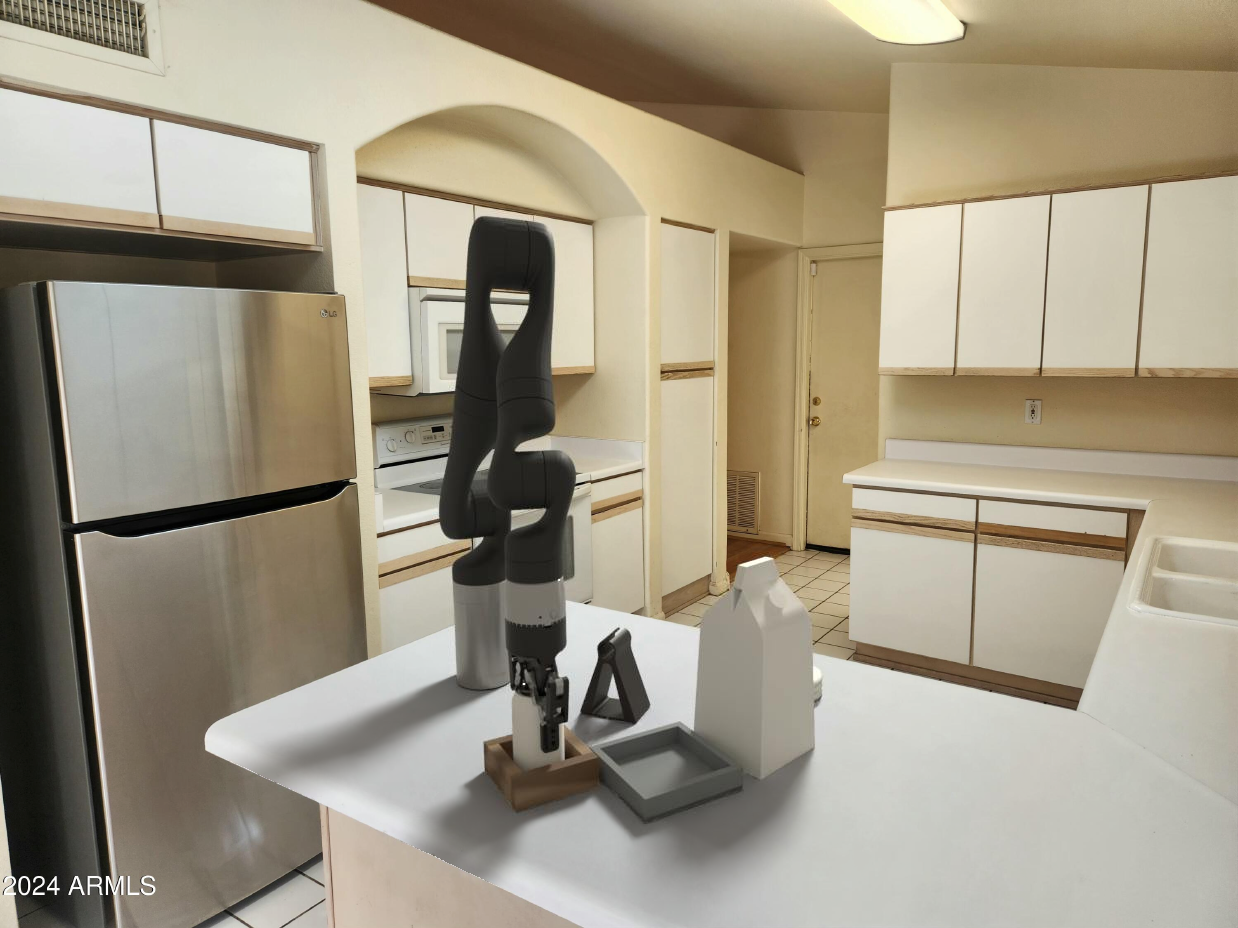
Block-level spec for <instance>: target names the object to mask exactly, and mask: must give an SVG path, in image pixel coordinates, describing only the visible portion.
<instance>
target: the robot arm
mask: <svg viewBox="0 0 1238 928" xmlns="http://www.w3.org/2000/svg"><path fill="white" fill-rule="evenodd" d="M553 237H554V236H553V233H552V231H551V229H550V228H549V226H547V224H544V223H541V222H538V221H532V220H524V219H516V218H507V217H500V216H491V215H490V216H489V215H488V216H487V215H481V216H478V217H476V219H475V220H474V222H473V223H472V225H471V228H470V232H469V237H468V243H467V244H468V245H467V255H466V256H467V257H466V273H465V290H464V291H465V292H464V293H465V297H464V317H463V328H462V337H461V343H460V344H461V345H460V350H459V358H458V364H457V373H456V379H455V386H454V387H455V388H454V395H453V410H452V419H451V421H452V422H451V423H452V424H451V433H450V441H449V442H450V443H449V449H448V454H447V455H448V456H447V458H446V459H447V460H446V465H445V470H444V475H443V477H442V478H443V480H442V485H441V490H440V494H439V500H438V501H439V502H438V504H439V505H438V517H439V520H438V521H439V526H440V529H441V531H442V533H443V535H444V536H445V537H446V538H448V539H449V540H454V541H459V540H460V541H461V540H470V539H477V538H478V539H479V538H482V540H481V542H480V543H479V544H478V545H477V546H476V547H474V548H473V549H472V550H470V551H469V552H467V553H465V554H463V555H462V556H460V557H458V558H456V559H455V561H454V562H453V564H452V566H451V578H452V598H453V617H454V618H453V619H454V641H455V642H454V643H455V663H456V664H455V665H456V668H455V669H456V682H457V684H458V685H459V686H461V687H463V688H465V689H470V690H490V689H495V688H499V687H500V688H501V687H502V686H505V685H507V684H509V687H510V690H511V691H512V692H515V686H516V685H517V684H518V686H519V687H520V686H523V685H524V684H525V686H526V687H527V688H528V689H530V694H531V697H532V698H531V699H532V703H533V705H534V706H535V707H537V708H538V713H539V718H540V743H541V750H542V751H543V752H544V753H549V752H553V751H556V750H558V749H559V724H562V723H564V724H566V723H568V722H569V708H570V707H569V706H570V702H569V701H570V680H569V677H568V676H562V677H560V676H559V675H560V674H559V670H558V666H557V661H556V658H557V656H558V654H559V653H561V652H562V651H564V650H565V648H566V647H567V641H568V640H567V639H568V638H567V637H568V636H567V599H566V587H565V581H564V568H563V567H564V563H563V562H564V561H563V560H564V559H563V552H564V551H563V549H564V547H563V545H564V544H563V543H564V534H565V528H566V523H567V517H568V515H569V509H570V507H571V503H572V500H573V496H574V492H575V489H576V488H575V487H576V483H577V482H576V481H577V471H576V466H575V464H574V462H573V460H572V458H571V457H570V455H569V454H567V453H566V452H564V451H563V450H560V449H559V450H558V449H549V450H548V449H547V450H524V451H523V450H522V451H521V450H520V451H516V450H517V448H518V447H519V446H520V445H521V444H523V443H527V442H528V441H531V440H536V439H540V438H543V437H545V436H547V435H549V434H550V433H551V432H552V431H554V429H555V425H556V420H557V419H556V406H555V397H554V386H553V385H554V383H553V375H552V373H553V372H552V346H553V345H552V342H553V341H552V340H553V327H554V326H553V324H554V311H555V310H554V309H555V308H554V305H555V285H556V284H555V283H556V282H555V281H556V279H555V278H556V249H555V241H554V238H553ZM493 290H503V291H513V292H521V293H527V294H528V295H529V296H528V306H527V310H526V313H525V315H524V317H523V319H522V321H521V323H520V325H519V327H518V329H517V330H516V332H515V333H514V334H513V337H512V338H511V339H510V340H509V342H508V344H507V343H506V341H505V339H504V337H503V336H502V332H500V329H499V327H498V324H497V321H496V319H495V315H494V314H493V310H492V305H491V293H492V291H493ZM493 449H494V450H493ZM492 451H493V454H492V457H491V461H490V465H489V469H488V472H487V478H484V479H475V475H476V473H477V472H478V469H479V467H480V466H481V464H482V463H483V461H484V460H485V459H486V458H487V456H488V455H489V454H490V453H491V452H492ZM543 509H544V510H545V512H544V513H543V514H542V517H541V518H539V519H538V520H537V521H534V522H532V523H530V524H527V525H522V526H519V527H516V528H514V529H512V517H513V516H512V511H524V510H525V511H527V510H528V511H529V510H543ZM523 681H524V682H525V683H523ZM545 693H546V698H540V697H539V696H538V695H540V694H545ZM545 704H546V712H545V707H544V705H545ZM560 708H561V710H560Z"/></svg>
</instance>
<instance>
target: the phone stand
mask: <svg viewBox="0 0 1238 928" xmlns="http://www.w3.org/2000/svg"><path fill="white" fill-rule="evenodd" d="M620 630H621V627H616V628H615V629H614V630H613V631H612V632H610V633H609V634H608V635H607V636H606V637H605V638H603V639H602V640H601V641H600V642H599V643H598V644H597V646H596V651H597V661H596V664H595V667H594V669H593V673H592V676H591V679H590V681H589V684H588V686H587V690H586V694H585V696H584V698H583V701H582V704H581V707H580V711H579V713H580V715H584V716H590V717H595V718H601V719H605V720H606V719H608V720H611V721H616V722H622V723H628V724H633V725H635V724H636V723H637V722H638V720H640V719H641V718H642V717H643V715H644V714H645V712H647V710H648V709H649V708H650V707H651V701H650V699H649V697H648V693H647V690H646V688H645V685H644V681H643V679H642V675H641V673H640V670H639V667H638V664H637V662H636V657H635V655H634V653H633V649H632V634H631V632H630V630H628V628H626V627H624V628H623V629H622V630H621V631H620ZM619 631H620V632H619ZM616 633H617V635H616ZM612 678H613V680H614V683H615V687H616V691H617V697H618V698H613V697H609V696H608V695H609V690H610V688H611V687H610V686H611V682H612Z"/></svg>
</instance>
